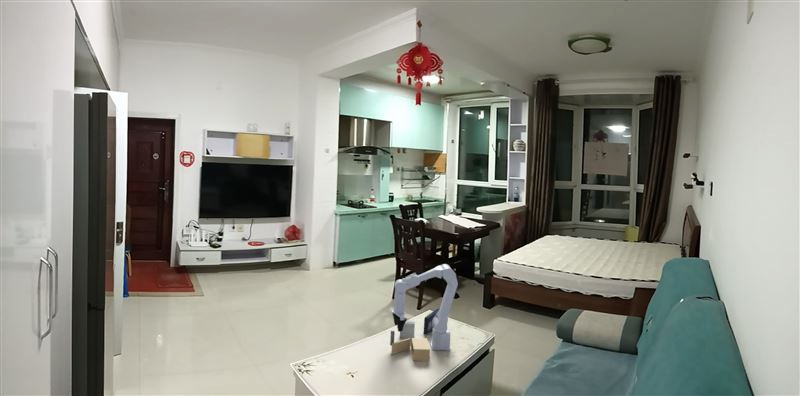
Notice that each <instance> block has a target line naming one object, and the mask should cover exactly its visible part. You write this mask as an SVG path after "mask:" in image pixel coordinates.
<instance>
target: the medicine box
mask: <svg viewBox="0 0 800 396" xmlns="http://www.w3.org/2000/svg"><path fill="white" fill-rule="evenodd" d="M415 322H416V321H415V320H407V321H406V322H405V324H404V327H403V330H402V331H401V332H399V338H400V339H408V338H411V340H412V338H415V329H416V328H415V325H416V323H415Z"/></svg>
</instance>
